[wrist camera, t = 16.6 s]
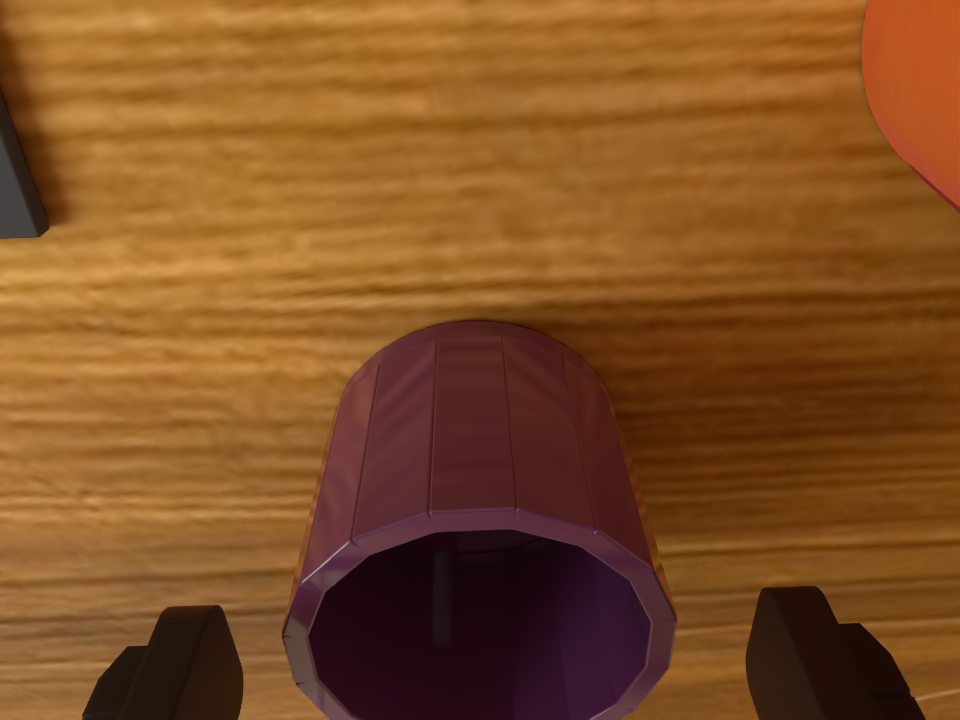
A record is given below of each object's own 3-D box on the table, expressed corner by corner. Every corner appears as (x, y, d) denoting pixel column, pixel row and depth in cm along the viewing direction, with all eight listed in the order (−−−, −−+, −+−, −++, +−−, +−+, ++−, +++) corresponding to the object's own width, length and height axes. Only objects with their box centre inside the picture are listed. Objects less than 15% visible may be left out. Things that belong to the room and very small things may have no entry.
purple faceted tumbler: (351, 549, 17) (316, 769, 13) (312, 325, 14) (248, 519, 10) (609, 538, 17) (657, 755, 13) (626, 312, 14) (697, 500, 10)
